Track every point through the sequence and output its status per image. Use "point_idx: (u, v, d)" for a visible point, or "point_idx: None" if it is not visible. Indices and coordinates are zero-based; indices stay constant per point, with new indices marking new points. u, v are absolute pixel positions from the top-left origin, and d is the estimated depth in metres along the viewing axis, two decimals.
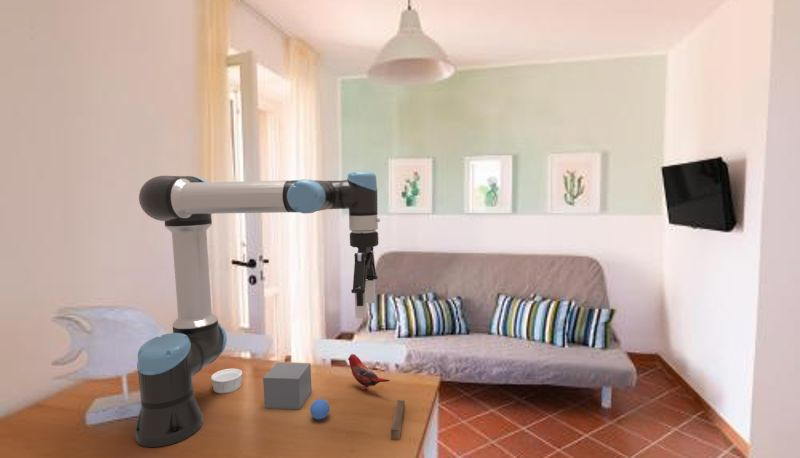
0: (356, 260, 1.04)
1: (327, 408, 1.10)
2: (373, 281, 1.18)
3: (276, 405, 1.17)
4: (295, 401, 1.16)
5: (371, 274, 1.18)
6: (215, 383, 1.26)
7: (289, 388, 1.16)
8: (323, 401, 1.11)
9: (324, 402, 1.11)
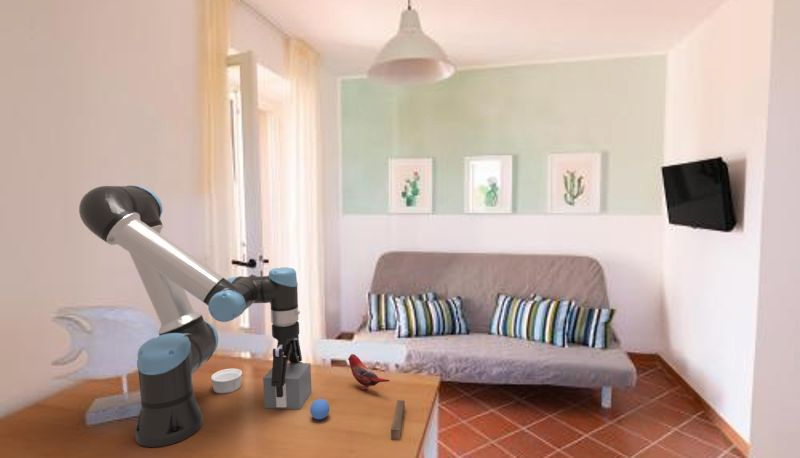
0: (274, 356, 1.13)
1: (327, 408, 1.10)
2: None
3: None
4: (295, 401, 1.16)
5: (295, 361, 1.25)
6: (215, 383, 1.26)
7: (289, 388, 1.16)
8: (323, 401, 1.11)
9: (324, 402, 1.11)
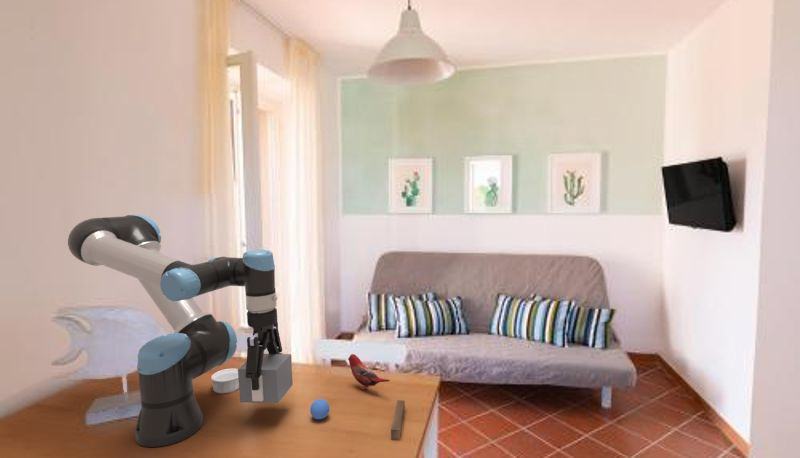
0: (249, 345, 1.04)
1: (327, 408, 1.10)
2: None
3: None
4: (273, 394, 1.06)
5: (274, 351, 1.16)
6: (215, 383, 1.26)
7: (266, 380, 1.06)
8: (323, 401, 1.11)
9: (324, 402, 1.11)
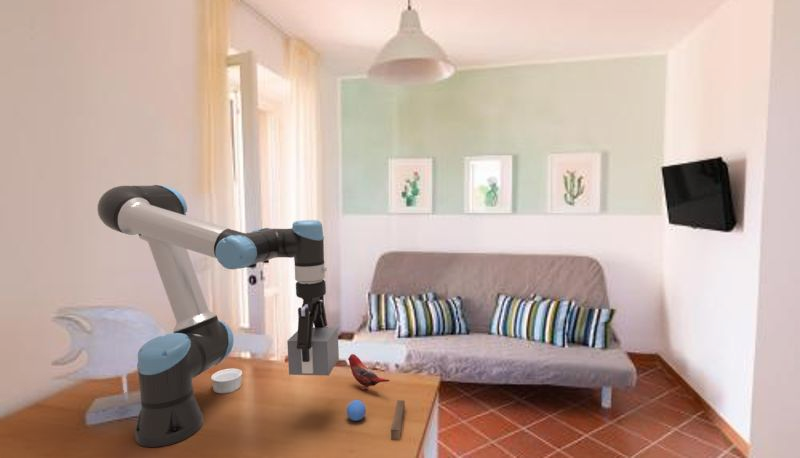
0: (300, 315, 1.02)
1: (347, 408, 1.10)
2: None
3: None
4: (323, 366, 1.04)
5: (320, 325, 1.14)
6: (215, 383, 1.26)
7: (317, 352, 1.04)
8: None
9: None
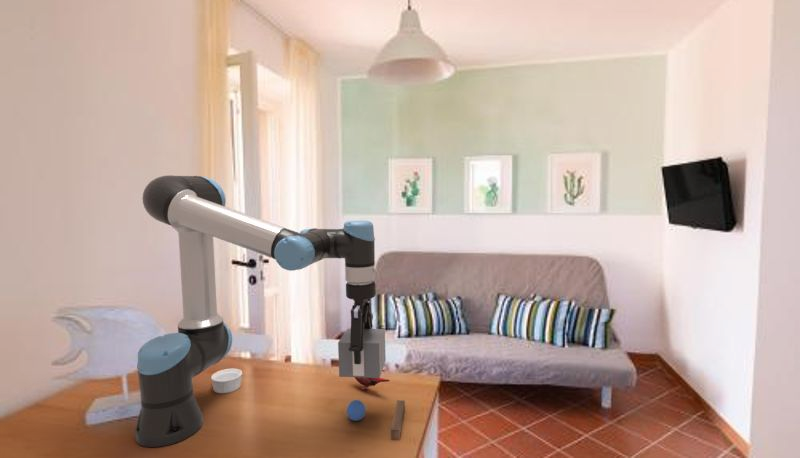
0: (352, 317, 1.01)
1: (347, 408, 1.10)
2: None
3: (352, 373, 1.04)
4: (374, 369, 1.03)
5: (367, 327, 1.12)
6: (215, 383, 1.26)
7: (368, 354, 1.03)
8: None
9: None
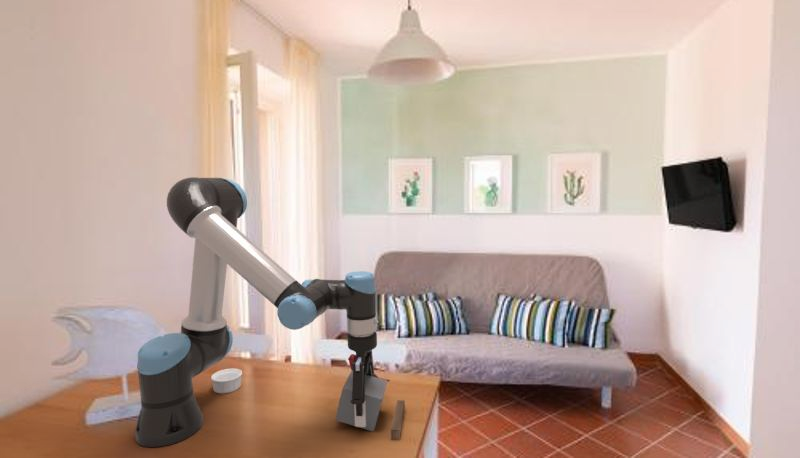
0: (354, 370, 1.02)
1: None
2: None
3: (348, 420, 1.05)
4: (371, 422, 1.05)
5: (369, 374, 1.14)
6: (215, 383, 1.26)
7: (369, 407, 1.04)
8: None
9: None
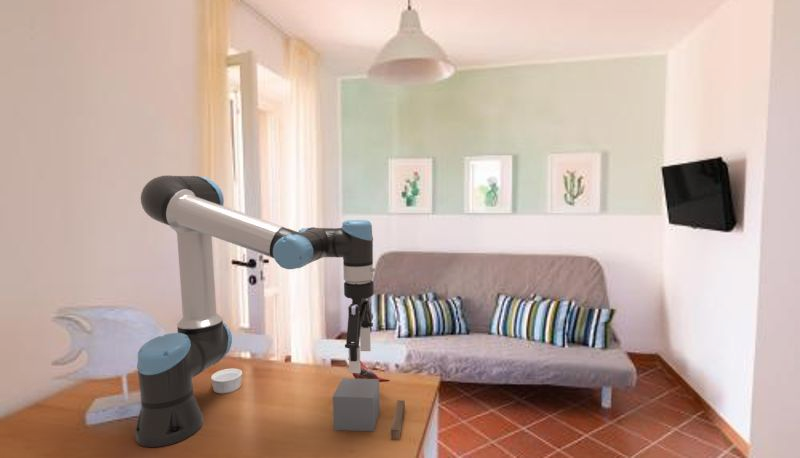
0: (350, 314, 1.01)
1: None
2: (368, 329, 1.15)
3: (347, 427, 1.05)
4: (368, 422, 1.05)
5: (366, 322, 1.14)
6: (215, 383, 1.26)
7: (362, 408, 1.04)
8: None
9: None
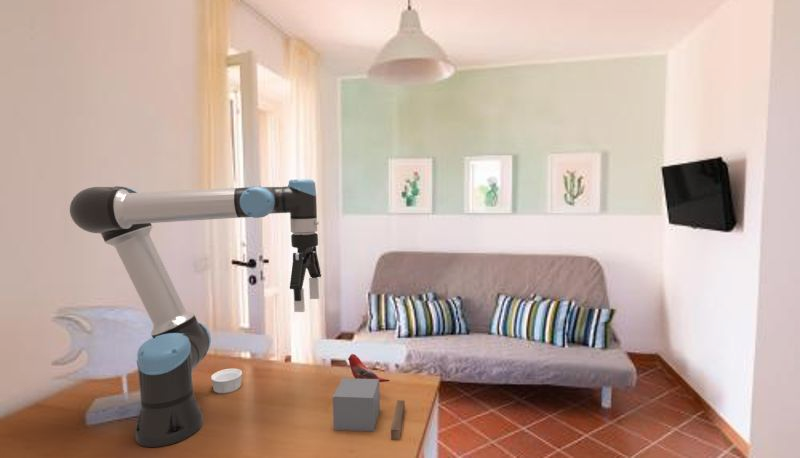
0: (294, 259, 1.15)
1: None
2: (316, 279, 1.29)
3: (347, 427, 1.05)
4: (368, 422, 1.05)
5: (314, 272, 1.28)
6: (215, 383, 1.26)
7: (362, 408, 1.04)
8: None
9: None
